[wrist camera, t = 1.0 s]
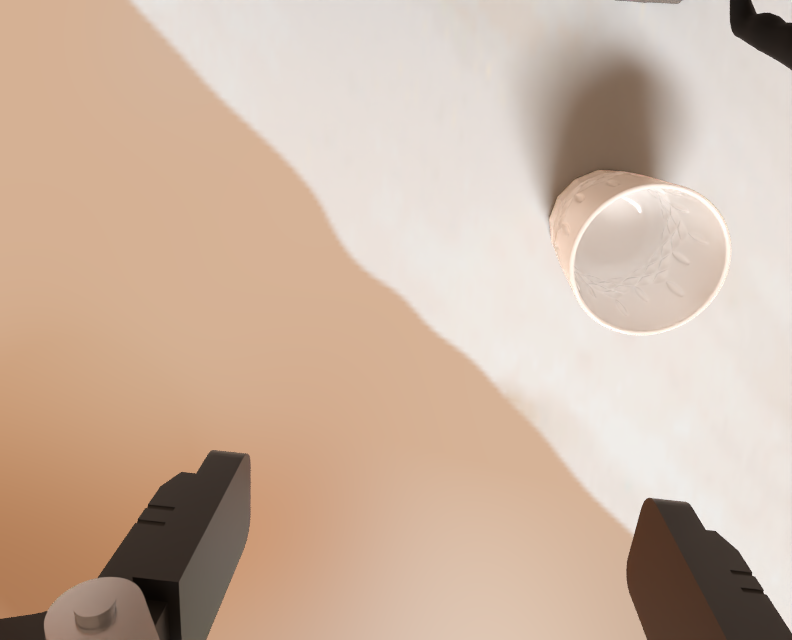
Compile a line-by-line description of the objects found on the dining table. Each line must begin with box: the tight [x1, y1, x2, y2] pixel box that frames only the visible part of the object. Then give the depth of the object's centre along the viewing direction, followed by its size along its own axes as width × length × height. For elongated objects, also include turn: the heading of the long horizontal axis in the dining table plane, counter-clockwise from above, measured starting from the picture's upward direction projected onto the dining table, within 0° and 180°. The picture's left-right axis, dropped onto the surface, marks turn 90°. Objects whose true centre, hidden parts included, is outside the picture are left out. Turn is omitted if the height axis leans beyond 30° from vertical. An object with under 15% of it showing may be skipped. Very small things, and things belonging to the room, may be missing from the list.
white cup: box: [549, 170, 731, 335], centre depth 36 cm, size 8×8×10 cm
